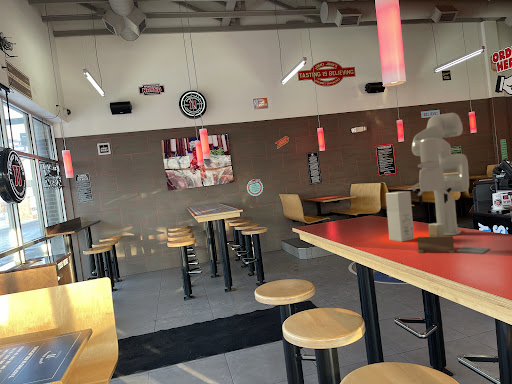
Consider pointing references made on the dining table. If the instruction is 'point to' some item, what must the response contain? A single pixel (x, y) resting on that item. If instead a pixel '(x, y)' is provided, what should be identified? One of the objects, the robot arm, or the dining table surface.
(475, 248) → the mat
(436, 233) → the box
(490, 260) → the dining table surface
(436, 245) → the screen
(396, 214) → the tall white carton
